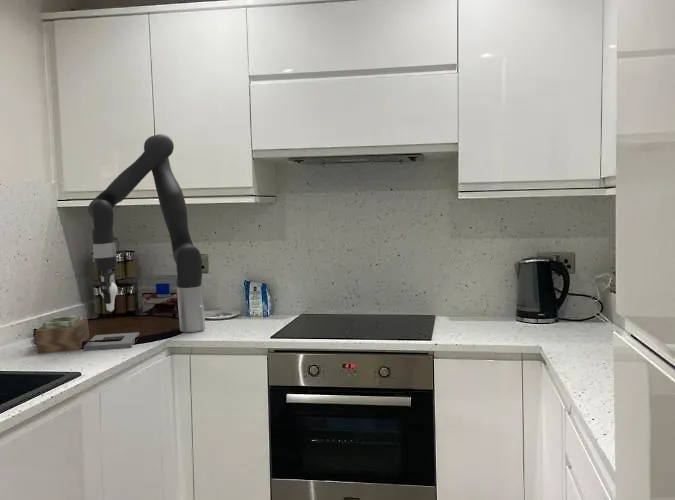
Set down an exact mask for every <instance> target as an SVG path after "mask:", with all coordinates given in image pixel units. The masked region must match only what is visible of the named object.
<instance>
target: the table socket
mask: <svg viewBox="0 0 675 500" xmlns="http://www.w3.org/2000/svg"><path fill="white" fill-rule="evenodd" d="M139 335H140V331H138V332H124V333H123V332H122V333H107V334H95V335H93V337H92V338H91V339H89V341H95V340H103V339H115V338H123V339H122V340H119V341H105V342H89V341H88V342H87V343H86V344H85V345H84V346H83V352H84V351H86V352H87V351H100V350H101V351H102V350H112V349H113V350H114V349H115V350H117V349H129V348H132V347H133V345H134V344H135V343H136V342H135V338H136V337H138V336H139Z"/></svg>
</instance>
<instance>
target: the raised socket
mask: <svg viewBox="0 0 675 500" xmlns="http://www.w3.org/2000/svg"><path fill="white" fill-rule="evenodd" d="M34 333H35V334H34V336H35V342H36V343H35V344H36V345H35V346H36V353H37V354H47V353H48V354H49V353H61V352H76V351H80V350H81V349H82V348H83V347H82V342H83V341H85V340H87V339H89V340H90V331H89V320H88V319H81V316H80V315H70V316H54V317H51V318H49V319H46V321H44V322H43V323H42V326H40V327H39V328H37V329H36V330H34Z"/></svg>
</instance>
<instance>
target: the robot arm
mask: <svg viewBox="0 0 675 500" xmlns="http://www.w3.org/2000/svg"><path fill="white" fill-rule="evenodd" d="M174 145H175V144H174V142H173V140H172V138H171V137H170V136H168V135H166V134H162V133H161V134H158V133H157V134H154V135H151V136H149V137H147V139H146V140H145V141H144V144H143V152H142V153H141V154H140V156H139V157H138V158H137V159H136V160H135V161H133V163H132V164H130V165H129V166H128V167H127V168H126V169H124V170H122V172H120V173H119V174H118V175H117V176H116V177H115V179H114V180H113V181H112V182H111V183H110V184H109V185H108V186H107V187H106V188H105V189H104V190H103V191H102V192H100V193H99V194H98V195H97V196H95V198H94V199H93V200H91V202H90V203H89V205H88V208H87V213H88V215H89V217H91V218H92V219H93V229H92V235H91V236H92V244H93V246H92V248H93V249H92V252H93V261H94V268H95V270H96V271H100V275H99V276H98V281H99V290H100V289H101V293H103V296H104V298H103V303H104V304H105V305H106V304H110V303H111V297H110V287H111V286H112V282H113V283H115V284H116V283H117V282H116V271H115V270H114V269H116V268H118V259H117V251H116V245H115V238H114V230H113V227H114V209H113V208H114V207H115V206H117V204H119V203H121V202H123V201H124V200H125V199H126V198H127V197H128V196H129V194H131V192H133V190H134V189H135V188H136V187H137V186H138V185H139V184H140V183H141V182H142V180H143V179H144V178H145V177H146V176H147V175H149V173H150V172H151V173H152V176H153V180H154V185H155V190H156V193H157V199H158V203H159V207H160V210H161V213H162V217H163V220H164V223H165V225H166V228H167V230H168V234H169V238H170V243H171V250H172V257H173V260H174V263H175V264H176V269H177V271H176V272H177V273H176V274H177V275H176V276H177V278H176V291H177V305H178V306H177V307H178V319H179V331H180V332H182V333H196V332H200V331H201V332H202V331H205V328H206V323H205V322H206V320H205V306H204V303H203V289H202V279H203V268H202V265H203V263H202V255H201V252H200V249H198V248H197V247H196V246H195V245H194V244H193V240H192V238H191V234H190V231H189V225H188V220H189V219H188V209H187V205H186V201H185V197H184V193H183V190H182V188H181V186H180V184H179V182H178V180H177V179H176V177H175V175H174V173H173V171H172V167H171V163H170V159H169V157H170V156H171V155H172V154H173V152H174V148H175V146H174ZM116 285H117V284H116ZM104 287H106V289H104Z"/></svg>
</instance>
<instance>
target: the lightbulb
mask: <svg viewBox="0 0 675 500" xmlns="http://www.w3.org/2000/svg"><path fill="white" fill-rule="evenodd" d="M115 283H116V282H115ZM115 283H113V282H112V286H111V287H110V297H111V303H110V304H105V306H106V311H109V312H113V311H114V310H115V300H116V296H117V293H118V290H119V289H118V286H117V284H115ZM104 289H106V287H104ZM99 294H100V296H101V297H102V298H103V299H104V296H103V293H101V289H100V288H99Z"/></svg>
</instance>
